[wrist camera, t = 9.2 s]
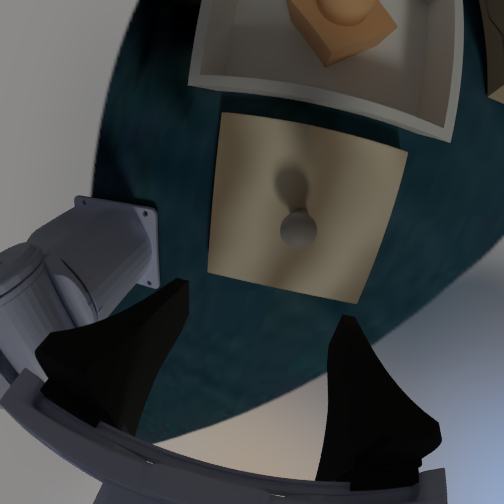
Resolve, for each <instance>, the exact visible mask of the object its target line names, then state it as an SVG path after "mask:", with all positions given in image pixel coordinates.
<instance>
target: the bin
mask: <svg viewBox="0 0 504 504" xmlns="http://www.w3.org/2000/svg"><path fill="white" fill-rule="evenodd" d="M379 1H380V3H381V4H382V5H383V7H384V8H385V9H386V11H387V12H388V13H389V15H390V16H391V17H392V19H393V20H394V22H395V23H396V24H397V26H398V27H397V28H396V29H395V30H394V31H393V32H392V33H391V34H389V35H388V36H387V37H386V38H385V39H384V40H383V41H382V42H381V43H380V44H378V45H377V46H376V47H373V48H371V49H368V50H366V51H363V52H361V53H358V54H356V55H353V56H351V57H349V58H346V59H344V60H342V61H340V62H337V63H335V64H333V65H331V66H329V67H327V68H325V67H324V65H323V64H322V62H321V61H320V60H319V58H318V57H317V55H316V54H315V52H314V51H313V50H312V48H311V47H310V45H309V44H308V43H307V41H306V40H305V39H304V37H303V36H302V35H301V33H300V32H299V31H298V30H297V28H296V27H295V26H294V25H293V23H292V22H291V20H290V15H289V11H288V6H287V2H286V0H202V2H201V7H200V12H199V17H198V22H197V27H196V33H195V39H194V45H193V51H192V58H191V65H190V72H189V79H188V85H189V86H195V87H201V88H206V89H211V90H216V91H229V92H240V93H249V94H258V95H265V96H273V97H279V98H286V99H291V100H297V101H303V102H308V103H313V104H318V105H322V106H327V107H331V108H335V109H339V110H343V111H347V112H351V113H355V114H359V115H362V116H366V117H369V118H373V119H376V120H379V121H382V122H386V123H389V124H392V125H395V126H398V127H400V128H403V129H406V130H409V131H412V132H414V133H417V134H421V135H424V136H428V137H432V138H436V139H439V140H443V141H446V142H449V143H450V142H451V138H452V133H453V128H454V123H455V117H456V111H457V105H458V99H459V91H460V83H461V73H462V61H463V40H464V18H463V0H379Z"/></svg>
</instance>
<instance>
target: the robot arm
mask: <svg viewBox="0 0 504 504" xmlns="http://www.w3.org/2000/svg"><path fill="white" fill-rule="evenodd" d="M85 201H86V202H85ZM74 202H75V207H74V208H72V209H70V210H68V211H67V212H65V213H63V214H62V215H60V216H58V217H56V218H55V219H53V220H51V221H50V222H48V223H47V224H45V225H43V226H42V227H41V228H39V229H37V230H36V231H35V232H34V233H33V234H32V235H31V236H30V237H29V239H28V240H27V242H25V243H20V244H17V245H15V246H12V247H10V248H8V249H6V250H5V251H3V252H1V253H0V408H2V409H5V410H6V411H7V412H8V413H9V414H10V415H11V416H12V417H13V418H14V419H15V420H16V421H17V422H18V423H19V424H20V425H21V426H22V427H23V428H24V429H25V430H27V431H28V432H29V433H30V434H31V435H33V436H34V437H35V438H36V439H38V440H39V441H40V442H42V443H43V444H44V445H45V446H47V447H48V448H49V449H51V450H52V451H53V452H55V453H56V454H58V455H59V456H60V457H62V458H63V459H65V460H67V461H68V462H69V463H71V464H72V465H74V466H75V467H77V468H79V469H80V470H82V471H83V472H85V473H87V474H88V475H90V476H92V477H94V478H96V479H97V480H99V481H101V482H102V483H103V484H102V486H101V488H100V490H99V492H98V494H97V496H96V499H95V501H94V503H93V504H447V489H446V488H447V487H446V476H445V468H440V469H434V470H428V471H424V472H421V473H419V470H418V468H419V467H421V466H422V458H424V457H425V456H426V455H428V454H430V453H431V452H432V451H434V450H435V449H436V448H437V447H438V446H439V445H440V444H441V442H442V437H441V432H440V427H439V423H438V422H437V421H436V420H434V419H433V418H432V417H431V416H429V415H428V414H427V413H425V412H424V411H423V410H422V409H421V408H420V407H419V406H417V405H416V404H415V403H414V402H413V401H412V400H411V399H410V398H409V397H408V396H407V395H406V394H405V393H404V392H403V391H402V390H401V388H400V387H399V386H398V385H397V384H396V382H395V381H394V380H393V379H392V378H391V376H390V375H389V373H388V372H387V371H386V369H385V368H384V366H383V365H382V363H381V362H380V360H379V359H378V357H377V356H376V354H375V352H374V351H373V349H372V347H371V346H370V344H369V342H368V340H367V339H366V337H365V335H364V333H363V331H362V329H361V327H360V326H359V324H358V322H357V320H356V318H355V317H352V316H347V315H342V317H341V319H340V321H339V324H338V326H337V328H336V330H335V332H334V335H333V337H332V339H331V341H330V343H329V348H328V359H327V377H328V414H327V422H326V430H325V437H324V443H323V448H322V453H321V458H320V463H319V467H318V471H317V475H316V478H315V481H308V480H297V479H288V478H280V477H273V476H266V475H260V474H255V473H249V472H244V471H239V470H234V469H230V468H226V467H222V466H218V465H214V464H210V463H207V462H203V461H200V460H196V459H193V458H190V457H187V456H183V455H180V454H177V453H175V452H171V451H169V450H166V449H163V448H161V447H158V446H155V445H153V444H150V443H148V442H145V441H143V440H141V439H138V438H136V437H135V434H136V430H137V427H138V424H139V421H140V417H141V415H142V412H143V409H144V406H145V403H146V400H147V398H148V395H149V393H150V390H151V388H152V385H153V383H154V380H155V378H156V376H157V373H158V371H159V369H160V367H161V365H162V364H163V362H164V360H165V359H166V357H167V355H168V353H169V352H170V350H171V348H172V347H173V345H174V343H175V341H176V340H177V338H178V336H179V335H180V333H181V331H182V329H183V327H184V324H185V322H186V319H187V317H188V315H189V281H187V280H183V279H179V278H176V279H175V280H173V281H171V282H170V283H168V284H167V285H165V286H164V287H162V288H161V289H159V290H158V291H156V292H155V293H153V294H152V295H150V296H148V297H147V298H145V299H144V300H142V301H140V302H138V303H137V304H135V305H133V306H131V307H130V308H128V309H126V310H124V311H122V312H120V313H117V314H115V315H113V316H111V317H108V316H109V315H110V313H111V312H112V311H113V310H114V309H115V307H116V306H117V305H118V304H119V303H120V301H121V300H122V299H123V298H124V297H125V296H126V294H127V293H128V292H129V291H130V290H131V289H132V288H133V286H134V285H135V284H136V283H138V284H141V285H145V286H148V287H151V288H155V289H156V288H158V287H159V286H160V274H159V254H158V214H157V211H156V210H155V209H154V208H152V207H146V206H140V205H134V204H129V203H123V202H117V201H111V200H105V199H99V198H92V197H86V196H80V195H79V196H76V197H75V199H74ZM145 211H146V212H147V213H148V215H146V214H145ZM149 281H150V282H151V283H150V282H149ZM107 317H108V318H107ZM147 461H148V462H151V463H153V464H151V463H148V462H147ZM270 494H272V495H270ZM275 495H280V496H285V497H280V496H275Z"/></svg>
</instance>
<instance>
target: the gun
mask: <svg viewBox="0 0 504 504" xmlns="http://www.w3.org/2000/svg"><path fill="white" fill-rule="evenodd" d="M479 3H480V9H481V14H482V20H483V27H484V34H485V43H486V55H487V76H488V97H489V98H491V99H494V100H496V101H499V102H501V103H503V104H504V0H479Z"/></svg>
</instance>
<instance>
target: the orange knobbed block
mask: <svg viewBox="0 0 504 504" xmlns="http://www.w3.org/2000/svg"><path fill="white" fill-rule="evenodd" d="M286 2H287V6H288V11H289V15H290V20H291V22H292V23H293V25H294V26H295V27H296V28H297V30H298V31H299V32H300V33H301V35H302V36H303V37H304V39H305V40H306V41H307V43H308V44H309V45H310V47H311V48H312V50H313V51H314V52H315V54H316V55H317V57H318V58H319V60H320V61H321V62H322V64H323V65H324V67H325V68H327V67H329V66H331V65H333V64H335V63H337V62H340V61H342V60H344V59H346V58H349V57H351V56H353V55H356V54H358V53H361V52H363V51H366V50H368V49H371V48H373V47H376V46H377V45H378V44H380V43H381V42H382V41H383V40H384V39H385V38H386V37H387V36H388V35H389V34H391V33H392V32H393V31H394V30H395V29H396V28H397V27H398V26H397V24H396V23H395V22H394V20H393V19H392V17H391V16H390V15H389V13H388V12H387V11H386V9H385V8H384V7H383V5H382V4H381V3H380V1H379V0H286Z"/></svg>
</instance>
